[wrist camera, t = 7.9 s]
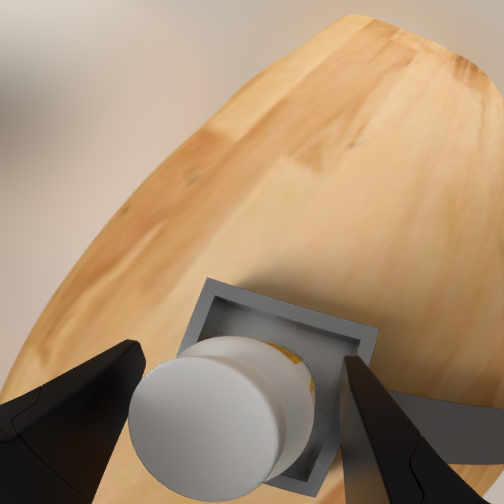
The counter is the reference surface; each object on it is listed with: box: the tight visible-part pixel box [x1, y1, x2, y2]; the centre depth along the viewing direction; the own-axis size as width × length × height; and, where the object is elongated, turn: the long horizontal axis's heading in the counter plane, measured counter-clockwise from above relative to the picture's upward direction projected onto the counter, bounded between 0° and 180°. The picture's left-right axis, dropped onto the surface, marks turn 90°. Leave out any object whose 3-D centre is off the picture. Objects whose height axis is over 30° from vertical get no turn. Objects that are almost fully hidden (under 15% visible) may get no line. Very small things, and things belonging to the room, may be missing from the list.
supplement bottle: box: [128, 336, 315, 502], centre depth 11 cm, size 5×5×10 cm
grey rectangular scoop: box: [176, 277, 504, 498], centre depth 13 cm, size 22×9×3 cm, turn 70°
